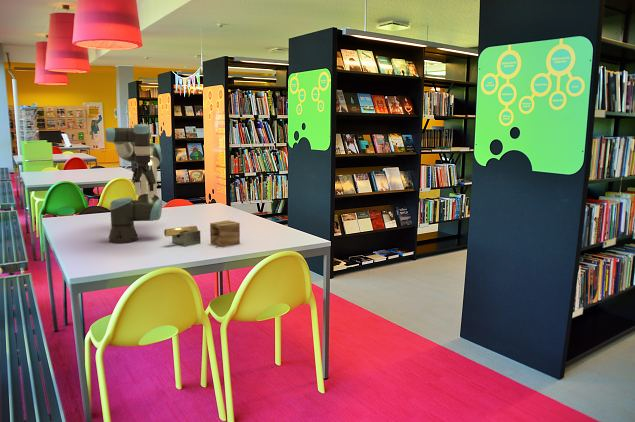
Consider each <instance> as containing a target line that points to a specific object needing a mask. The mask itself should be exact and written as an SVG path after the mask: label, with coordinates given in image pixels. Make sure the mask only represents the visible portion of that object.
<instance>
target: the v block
mask: <svg viewBox="0 0 635 422" xmlns="http://www.w3.org/2000/svg"><path fill="white" fill-rule="evenodd" d="M171 242H172V243H173V244H176V245H179V246H183V247H188V246H194V245H200V244H201V242H202V241H201V230H199V229H198V230H195V231H189V232H183V233H182V235H176V236H171Z"/></svg>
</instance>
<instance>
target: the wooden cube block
mask: <svg viewBox="0 0 635 422" xmlns="http://www.w3.org/2000/svg"><path fill="white" fill-rule="evenodd" d="M240 224H241V223H240V222H237V221H231V220H223V221H216V222H210V223H209V226H210V227H209V228H210V229H209V231H210V233H209V234H210V235H209V236H210V245H213V246H216V247H219V248H224V247H229V246H235V245H239V244H241V242H240V241H241V238H240V237H241V236H240V234H241V230H240V228H241V225H240Z"/></svg>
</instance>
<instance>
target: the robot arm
mask: <svg viewBox="0 0 635 422" xmlns="http://www.w3.org/2000/svg"><path fill="white" fill-rule="evenodd" d="M104 130H105V132H104V133H105V134H104V136H105V141H106V142H107V143H113V144H114V146H115V152H116V154H117V156H118V157H119V158H120V159H122V160H124V161H127V162H129V163H134V166H133V172H132V176H131V178H132V179H131V180H132V181H133V182H134V193H135V196H138V195H139V196H138V197H137V199H135V200H134V199H133V197H122V198H118V199H114V200H112V201H111V202H110V204H109V205H110V206H109V207H110V208H109V210H110V223H111V224H110V231H109V235H108V242H109V243H113V244H127V243H133V242H136V241H138V240H139V236H138V233H137V231H136V228H135V222H153V221H159V220H160V219H161V217H162V212H163V210H162V209H163V201H162V200H161V199H160V197H159V196H158V195H157V193H158V192H157V187H158V185H157V184H158V183H157V181H158V180H157V179H158V178H157V177H158V176H157V175H158V172H157V171H158V169H157V168H158V167H159V166H160V163H162V162H163V157H162V149H161V145H160V144H159V143H157V142H155V143H154V142H151V141H150V140H151V138H152V132H151V131H150V130H151V129H150V125H149V124H142V123H141V124H140V123H139V124H136V123H135V124H134V125H133V127H107V128H106V129H104Z"/></svg>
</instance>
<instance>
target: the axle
mask: <svg viewBox="0 0 635 422" xmlns="http://www.w3.org/2000/svg"><path fill="white" fill-rule="evenodd" d="M195 230H199V229H198V227H197V225H190V226H181V227H173V228H166V229H164V231H163V234H164V237H166V238H167V237H172V236H176V235H182V233H183V232H189V231H195Z"/></svg>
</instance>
